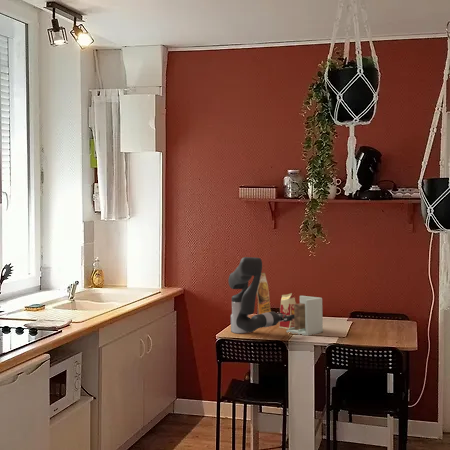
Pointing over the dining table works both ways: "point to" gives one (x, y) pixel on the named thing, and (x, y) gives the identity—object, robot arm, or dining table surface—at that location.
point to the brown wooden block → (299, 316)
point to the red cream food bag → (287, 310)
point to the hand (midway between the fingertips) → (288, 315)
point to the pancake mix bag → (263, 295)
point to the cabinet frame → (311, 316)
